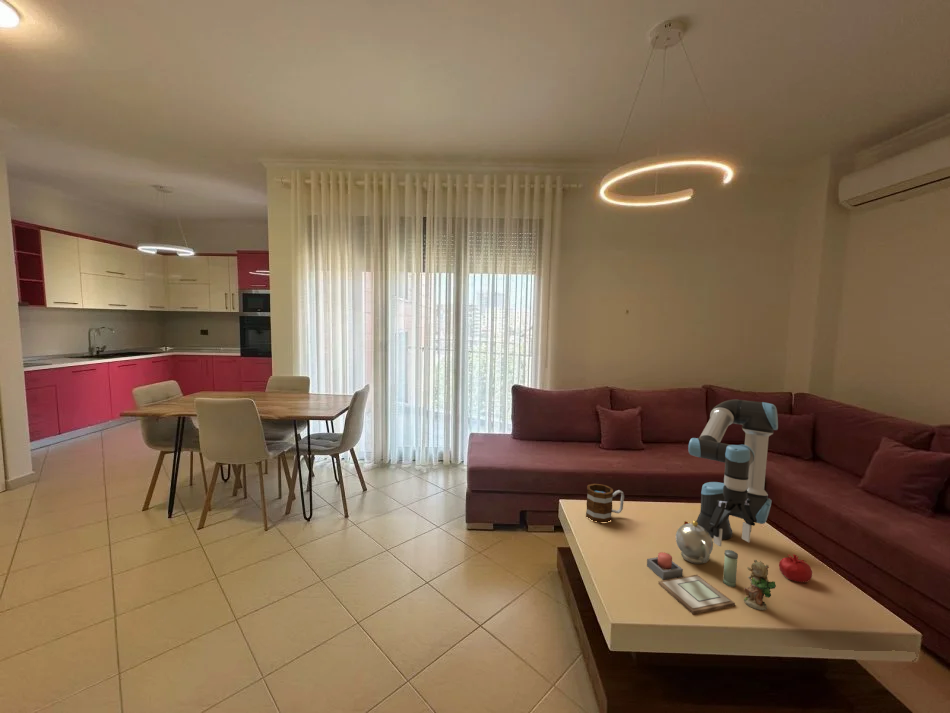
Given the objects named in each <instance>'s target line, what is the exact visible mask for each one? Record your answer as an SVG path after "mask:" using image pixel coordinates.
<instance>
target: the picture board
mask: <svg viewBox="0 0 950 713" xmlns="http://www.w3.org/2000/svg"><path fill="white" fill-rule="evenodd" d="M657 584H658V585H659V587H661V588H662V589H664V591H666V592H667V593H668V594H669V595H670V596H672V597H673V599H674V600H676V601H677V602H678V603H679V604H681V606H683V607H684V608H685V609H686V610H688V612H690V613H691V614H692V615H696V614H701V613H706V612H711V611H716V610H720V609H726V608H730V607H734V606H736V602H734V601H733V600H732V599H730V598H729V597H728V596H726V595H725V594H724V593H722V592H721V591H720V590H718V589H717V588H715V587H714V586H713V585H712V584H710V583H709V582H708V581H707V580H705V579H704V578H702V577H701V576H700V575H699V574H693V575H687V576H682V577H678V578H672V579H666V580H663V579H662V580H659V581H658V583H657Z"/></svg>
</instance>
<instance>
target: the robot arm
mask: <svg viewBox="0 0 950 713" xmlns="http://www.w3.org/2000/svg"><path fill="white" fill-rule="evenodd" d="M778 417H779V416H778V409H777V407H776V405H775V404H773V403H769V402H764V401H762V402H761V401H753V400H744V399H728V400H725V401H722V402H720V403H718V404H717V405H716V406H714V407H713V408H712V409H711V411H710V414H709V419H708V422H707V423H706V425H705V427H704V428H703V430H702V432H701V434H700V436H699V437H697V438H696V437H692V438H690V440H689V442H688V445H687V446H688V447H687V448H688V449H687V450H688V454H689V455H690V456H693V457H696V458H701V459H705V460H709V461H716V462H721V463H723V464H724V474H723V475H724V477H723V482H718V481H709V482H705V483H704V484H702V487H701V492H700V495H701V496H700V512H699V514H698V516H697V519H696V520H695V521H697V523H698V525H699V526H701V527H703V528H704V529H705V530H706V531H707V532H708V533H709V534H710V536H711V538H712V539H713V540H712V541H713V544H714V545H715V546H718V547H722V542H723V540H729V539H731V538H732V537H733V529H732V527H731V522H730V516H731V517H735V518H738V519H743V521H744V522H742V527H741V529H742V530H741V539H742V540H744V541H745V542H747V543H750V542H751V532H752V527H754V526H755V525H756V524H760V525H764V524H766V522H767V520H768V516H769V515H770V511H771V506H772V499H771V498H769V497H768V496H769V494H768V492H767V491H766V490H765V483H766V471H767V461H768V460H767V459H768V450H769V449H768V448H769V439H770V438H769V437H770V436H772V435H774V431H778V429H779V419H778ZM732 424H735V425H741V429H742V431H743V432H744V433H745V434H744V435H745V437H744V444H729V443H725V442H721V441H722V440H723V437H724V435H725V434H726V431H727V429H728V427H729V426H731V425H732Z"/></svg>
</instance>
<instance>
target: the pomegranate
mask: <svg viewBox="0 0 950 713" xmlns="http://www.w3.org/2000/svg"><path fill="white" fill-rule="evenodd" d="M778 567H779V571H780V572H781V574H782V575H783V576H784V577H785V578H786V579H788V580H790V581H792V582H797V583H807V582H809V581H810V580H811V579H812V577H813V570H812V568H811V567H812V566H810V565H809V564H808V562H807V561H806V560H804V559H799V556H798V555H797V554H795V553H793V554H792V556H791V555H790V554H788V556H786V557H785V556H784V557H783V558H781V560H779V562H778Z"/></svg>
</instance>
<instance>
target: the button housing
mask: <svg viewBox="0 0 950 713" xmlns="http://www.w3.org/2000/svg"><path fill="white" fill-rule="evenodd" d="M646 567H647V568H648V569H650V570H651V571H652V572H654V573H655V575H657V577H658V578H660V579H661V580H662V581H663V580H669V579H671V578H672V579H675V578H677V577H678V578H680V577H684V576H683V574H684V573H683V572H684V571H683V570H684V569H683V568H682V567H681V566H679V565H678V564H677V563H675V562H674V561H673V560H672V568H671V569H669V570H667V569H663V568H661V567H659V566H658V556H657V557H650V558H647V560H646Z"/></svg>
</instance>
